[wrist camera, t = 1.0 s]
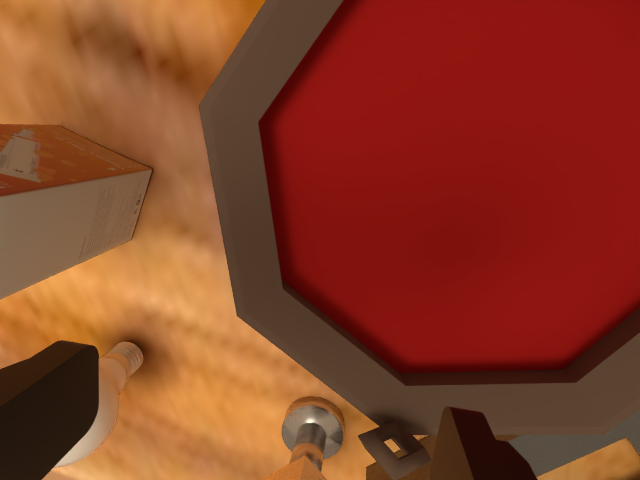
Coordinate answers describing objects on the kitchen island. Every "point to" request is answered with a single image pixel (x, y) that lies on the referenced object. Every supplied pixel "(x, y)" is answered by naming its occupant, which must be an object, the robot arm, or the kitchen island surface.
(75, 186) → the small box
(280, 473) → the keyhole peg
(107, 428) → the lightbulb
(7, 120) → the kitchen island surface
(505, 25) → the brown cooking pot
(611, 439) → the keyhole plate
